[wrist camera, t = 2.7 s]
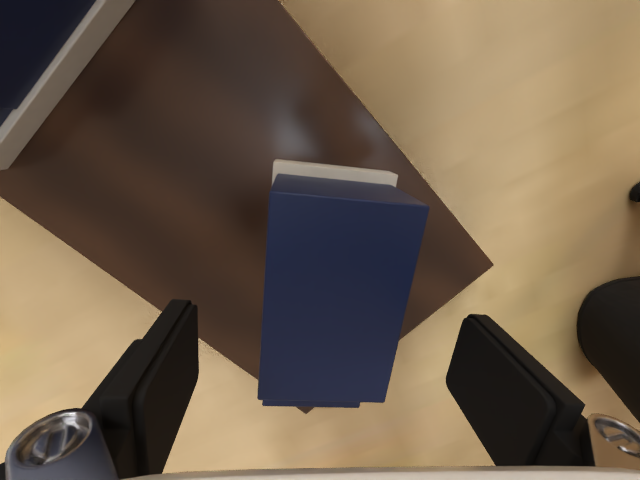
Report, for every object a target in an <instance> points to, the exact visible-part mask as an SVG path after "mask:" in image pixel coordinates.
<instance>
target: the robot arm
mask: <svg viewBox="0 0 640 480" xmlns="http://www.w3.org/2000/svg"><path fill="white" fill-rule="evenodd" d="M198 373H199V361H198V308H197V305H193V304H192V302H191V300H183V299H172V300H171V301H170V302H169V303H168V305H167V306H166V307H165V309H164V310H163V312H162V313H161V314H160V316H159V317H158V318H157V320H156V321H155V322H154V324H153V325H152V327H151V328H150V329H149V331H148V332H147V333H146V335H145V336H144V337H143V339H137V340H135V341H134V342H133V343H132V344H131V345H130V346H129V347H128V349H127V350H126V351H125V353H124V354H123V355H122V356H121V358H120V359H119V360H118V362H117V363H116V364H115V366H114V367H113V368H112V369H111V371H110V372H109V373H108V375H107V376H106V377H105V379H104V380H103V381H102V382H101V384H100V385H99V386H98V388H97V389H96V390H95V392H94V393H93V394H92V395H91V397H90V398H89V399H88V401H87V402H86V403H85V405H84V406H83V407H82V408H81V409H80V408H73V409H66V410H61V411H58V412H55V413H52V414H50V415H48V416H46V417H44V418H42V419H40V420H38V421H36V422H34V423H33V424H32V425H30V426H29V427H27V428H26V429H24V430H23V431H22V432H21V433H20V434H19V435H18V436H17V437H16V438H15V439H14V440H13V442H12V443H11V445H10V447H9V448H8V450H7V453H6V457H5V462H4V463H2V464H0V480H640V431H638V430H637V429H635V428H634V427H632V426H630V425H629V424H627V423H625V422H623V421H621V420H619V419H617V418H614V417H611V416H608V415H604V414H599V413H598V414H591V415H590V416H588V418H587V419H586V418H585V417H584V416H582V415H581V413H582V411H583V409H584V407H585V404H584V403H583V402H582V401H581V400H580V399H579V398H578V397H576V396H575V395H574V394H573V393H572V392H571V391H570V390H569V389H568V388H567V387H565V386H564V385H563V384H562V383H561V382H560V381H559V380H558V379H557V378H556V377H555V376H553V375H552V374H551V373H550V372H549V371H548V370H547V369H546V368H545V367H544V366H543V365H541V364H540V363H539V362H538V361H537V360H536V359H535V358H534V357H533V356H532V355H531V354H529V353H528V352H527V351H526V350H525V349H524V348H523V347H522V346H521V345H520V344H519V343H517V342H516V341H515V340H514V339H513V338H512V337H511V336H510V335H509V334H508V333H507V332H505V331H504V330H503V329H502V328H501V327H500V326H499V325H498V324H497V323H496V322H494V321H493V320H492V319H491V318H490V317H489V316H487V315H479V314H470V315H468V316H467V318H464V320H463V322H462V325H461V328H460V332H459V335H458V338H457V342H456V345H455V349H454V352H453V355H452V359H451V362H450V366H449V369H448V372H447V376H446V384H447V387H448V389H449V391H450V392H451V394H452V396H453V397H454V399H455V401H456V402H457V404H458V405H459V407H460V409H461V410H462V412H463V413H464V415H465V417H466V418H467V420H468V422H469V423H470V425H471V426H472V428H473V430H474V431H475V433H476V434H477V436H478V438H479V439H480V441H481V443H482V444H483V446H484V447H485V449H486V451H487V452H488V454H489V455H490V457H491V459H492V460H493V462H494V464H495V465H496V466H432V467H351V468H297V469H248V470H221V471H194V472H178V473H166V474H162V472H163V469H164V467H165V464H166V461H167V459H168V456H169V454H170V451H171V448H172V446H173V443H174V441H175V438H176V435H177V433H178V430H179V428H180V425H181V422H182V420H183V417H184V414H185V412H186V409H187V407H188V404H189V401H190V399H191V396H192V394H193V391H194V388H195V386H196V383H197V379H198Z"/></svg>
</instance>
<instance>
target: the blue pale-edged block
mask: <svg viewBox="0 0 640 480" xmlns="http://www.w3.org/2000/svg"><path fill="white" fill-rule="evenodd" d="M397 179H398V175H397V174H395V173H392V172H390V171H384V170H374V169H365V168H356V167H346V166H337V165H328V164H318V163H309V162H300V161H290V160H281V159H275V161H274V162H273V175H272V187H271V190H270V192H269V205H268V223H267V240H266V257H265V275H264V292H263V310H262V327H261V345H260V362H259V380H258V397H257V398H258V399H259V400H263V403H262V405H263V406H296V407H344V408H359V406H360V402H377V403H383V402H385V397H386V393H387V389H388V384H389V380H390V376H391V372H392V367H393V363H394V359H395V354H396V350H397V346H398V341H399V337H400V333H401V329H402V324H403V320H404V316H405V311H406V307H407V303H408V299H409V294H410V290H411V286H412V281H413V277H414V273H415V268H416V264H417V260H418V256H419V251H420V247H421V243H422V238H423V234H424V230H425V226H426V221H427V217H428V213H429V206H428V205H426V204H425V203H423V202H421V201H419V200H418V199H416V198H414V197H412V196H410V195H409V194H407V193H405V192H403V191H401V190H400V189H398V188H396V184H397Z"/></svg>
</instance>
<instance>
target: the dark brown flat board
mask: <svg viewBox="0 0 640 480" xmlns="http://www.w3.org/2000/svg"><path fill="white" fill-rule="evenodd" d="M275 159H281V160H290V161H300V162H309V163H318V164H328V165H337V166H346V167H356V168H365V169H374V170H384V171H390V172H392V173H395V174H397V175H398V179H397V184H396V188H398V189H400V190H401V191H403V192H405V193H407V194H409V195H410V196H412V197H414V198H416V199H418V200H419V201H421V202H423V203H425V204H426V205H428V206H429V213H428V217H427V221H426V226H425V230H424V234H423V238H422V243H421V247H420V251H419V256H418V260H417V264H416V268H415V273H414V277H413V281H412V286H411V290H410V294H409V299H408V303H407V307H406V311H405V316H404V320H403V324H402V329H401V333H400V337H399V340H400V339H401V338H403V337H404V336H405V335H406V334H408V333H409V332H410V331H411V330H413V329H414V328H415V327H416V326H418V325H419V324H420V323H422V322H423V321H424V320H425V319H427V318H428V317H429V316H430V315H432V314H433V313H434V312H435V311H437V310H438V309H439V308H440V307H442V306H443V305H444V304H445V303H447V302H448V301H449V300H450V299H452V298H453V297H454V296H456V295H457V294H458V293H459V292H461V291H462V290H463V289H464V288H466V287H467V286H468V285H469V284H471V283H472V282H473V281H474V280H476V279H477V278H478V277H479V276H481V275H482V274H483V273H484V272H486V271H487V270H488V269H490V268H491V267H492V266H493V263H492V262H491V261H490V259H489V258H488V257H487V256H486V255H485V253H484V252H483V251H482V250H481V248H480V247H479V246H478V245H477V244H476V242H475V241H474V240H473V239H472V237H471V236H470V235H469V234H468V233H467V231H466V230H465V229H464V228H463V226H462V225H461V224H460V223H459V221H458V220H457V219H456V218H455V217H454V215H453V214H452V213H451V212H450V210H449V209H448V208H447V207H446V206H445V204H444V203H443V202H442V201H441V199H440V198H439V197H438V196H437V195H436V193H435V192H434V191H433V190H432V188H431V187H430V186H429V185H428V183H427V182H426V181H425V180H424V179H423V177H422V176H421V175H420V174H419V172H418V171H417V170H416V169H415V168H414V166H413V165H412V164H411V163H410V161H409V160H408V159H407V158H406V157H405V155H404V154H403V153H402V152H401V150H400V149H399V148H398V147H397V145H396V144H395V143H394V142H393V141H392V139H391V138H390V137H389V136H388V134H387V133H386V132H385V131H384V130H383V128H382V127H381V126H380V125H379V123H378V122H377V121H376V120H375V119H374V117H373V116H372V115H371V114H370V112H369V111H368V110H367V109H366V108H365V106H364V105H363V104H362V103H361V101H360V100H359V99H358V98H357V96H356V95H355V94H354V93H353V92H352V90H351V89H350V88H349V87H348V85H347V84H346V83H345V82H344V81H343V79H342V78H341V77H340V76H339V74H338V73H337V72H336V71H335V70H334V68H333V67H332V66H331V65H330V63H329V62H328V61H327V60H326V58H325V57H324V56H323V55H322V54H321V52H320V51H319V50H318V49H317V47H316V46H315V45H314V44H313V43H312V41H311V40H310V39H309V38H308V36H307V35H306V34H305V33H304V32H303V30H302V29H301V28H300V27H299V25H298V24H297V23H296V22H295V20H294V19H293V18H292V17H291V16H290V14H289V13H288V12H287V11H286V9H285V8H284V7H283V6H282V5H281V3H280V2H279V1H278V0H136V1H135V2H134V3H133V5H132V6H131V7H130V8H129V10H128V11H127V12H126V14H125V15H124V16H123V18H122V19H121V20H120V22H119V23H118V24H117V26H116V27H115V28H114V30H113V31H112V32H111V34H110V35H109V36H108V38H107V39H106V40H105V41H104V43H103V44H102V45H101V47H100V48H99V49H98V51H97V52H96V53H95V55H94V56H93V57H92V59H91V60H90V61H89V63H88V64H87V65H86V67H85V68H84V69H83V70H82V72H81V73H80V74H79V76H78V77H77V78H76V80H75V81H74V82H73V84H72V85H71V86H70V88H69V89H68V90H67V92H66V93H65V94H64V96H63V97H62V98H61V99H60V101H59V102H58V103H57V105H56V106H55V107H54V109H53V110H52V111H51V113H50V114H49V115H48V117H47V118H46V119H45V121H44V122H43V123H42V125H41V126H40V127H39V128H38V130H37V131H36V132H35V134H34V135H33V136H32V138H31V139H30V140H29V142H28V143H27V144H26V146H25V147H24V148H23V150H22V151H21V152H20V154H19V155H18V156H17V158H16V159H15V160H14V161H13V163H12V164H11V165H10V167H9V168H8V169H4V170H0V197H2V198H3V199H5V200H6V201H7V202H9V203H10V204H12V205H13V206H14V207H16V208H17V209H19V210H20V211H21V212H23V213H24V214H26V215H27V216H28V217H30V218H31V219H33V220H34V221H35V222H37V223H38V224H40V225H41V226H43V227H44V228H45V229H47V230H48V231H50V232H51V233H52V234H54V235H55V236H57V237H58V238H59V239H61V240H62V241H64V242H65V243H66V244H68V245H69V246H71V247H72V248H73V249H75V250H76V251H78V252H79V253H80V254H82V255H83V256H85V257H86V258H87V259H89V260H90V261H92V262H93V263H94V264H96V265H97V266H99V267H100V268H102V269H103V270H104V271H106V272H107V273H109V274H110V275H111V276H113V277H114V278H116V279H117V280H118V281H120V282H121V283H123V284H124V285H125V286H127V287H128V288H130V289H131V290H132V291H134V292H135V293H137V294H138V295H139V296H141V297H142V298H144V299H145V300H146V301H148V302H149V303H151V304H152V305H154V306H155V307H156V308H158V309H159V310H161V311H162V312H163V310H164V309H165V307H166V306H167V305H168V303H169V302H170V301H171V300H172V299H183V300H191V302H192V304H193V305H197V308H198V338H200V339H201V340H203V341H204V342H206V343H207V344H208V345H210V346H211V347H213V348H214V349H215V350H217V351H218V352H220V353H221V354H222V355H224V356H225V357H227V358H228V359H229V360H231V361H232V362H234V363H235V364H236V365H238V366H239V367H241V368H242V369H243V370H245V371H246V372H248V373H249V374H250V375H252V376H253V377H255V378H256V379H258V380H259V362H260V345H261V327H262V310H263V292H264V275H265V257H266V240H267V223H268V205H269V192H270V190H271V187H272V175H273V162H274V161H275ZM295 407H296V406H295ZM297 408H298V409H300V410H301V411H302V412H304V413H305V414H307V413H308V412H309V411H311V410H312V409H313V408H314V407H297Z"/></svg>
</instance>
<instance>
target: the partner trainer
mask: <svg viewBox="0 0 640 480" xmlns="http://www.w3.org/2000/svg"><path fill="white" fill-rule="evenodd" d="M135 1H136V0H0V170H4V169H8V168H9V167H10V165H11V164H12V163H13V161H14V160H15V159H16V158H17V156H18V155H19V154H20V152H21V151H22V150H23V148H24V147H25V146H26V144H27V143H28V142H29V140H30V139H31V138H32V136H33V135H34V134H35V132H36V131H37V130H38V128H39V127H40V126H41V125H42V123H43V122H44V121H45V119H46V118H47V117H48V115H49V114H50V113H51V111H52V110H53V109H54V107H55V106H56V105H57V103H58V102H59V101H60V99H61V98H62V97H63V96H64V94H65V93H66V92H67V90H68V89H69V88H70V86H71V85H72V84H73V82H74V81H75V80H76V78H77V77H78V76H79V74H80V73H81V72H82V70H83V69H84V68H85V67H86V65H87V64H88V63H89V61H90V60H91V59H92V57H93V56H94V55H95V53H96V52H97V51H98V49H99V48H100V47H101V45H102V44H103V43H104V41H105V40H106V39H107V38H108V36H109V35H110V34H111V32H112V31H113V30H114V28H115V27H116V26H117V24H118V23H119V22H120V20H121V19H122V18H123V16H124V15H125V14H126V12H127V11H128V10H129V8H130V7H131V6H132V5H133V3H134V2H135Z"/></svg>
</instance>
